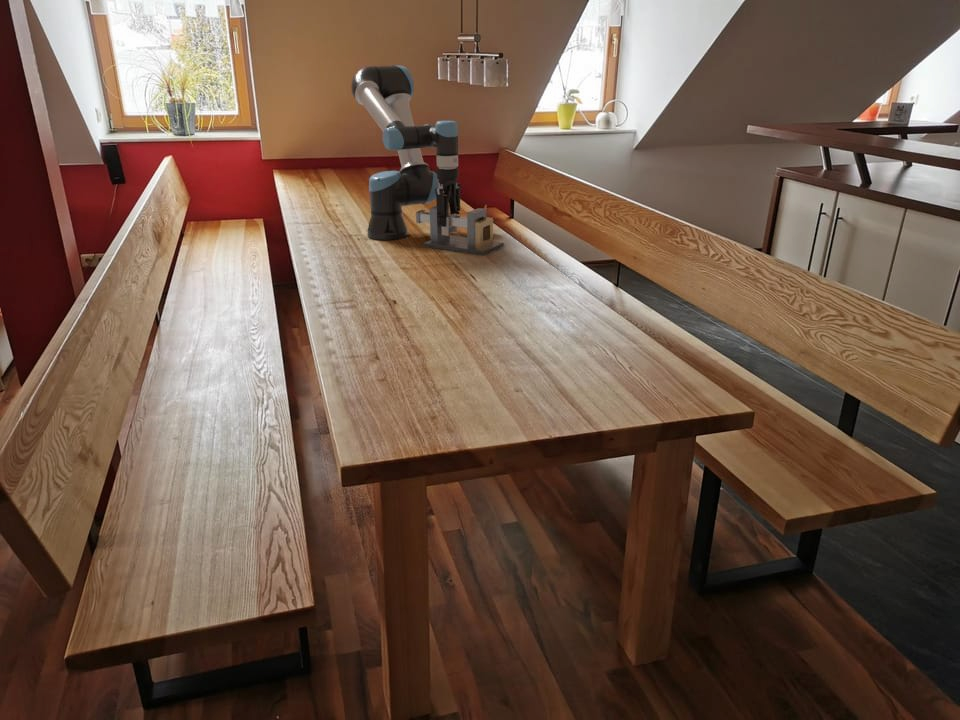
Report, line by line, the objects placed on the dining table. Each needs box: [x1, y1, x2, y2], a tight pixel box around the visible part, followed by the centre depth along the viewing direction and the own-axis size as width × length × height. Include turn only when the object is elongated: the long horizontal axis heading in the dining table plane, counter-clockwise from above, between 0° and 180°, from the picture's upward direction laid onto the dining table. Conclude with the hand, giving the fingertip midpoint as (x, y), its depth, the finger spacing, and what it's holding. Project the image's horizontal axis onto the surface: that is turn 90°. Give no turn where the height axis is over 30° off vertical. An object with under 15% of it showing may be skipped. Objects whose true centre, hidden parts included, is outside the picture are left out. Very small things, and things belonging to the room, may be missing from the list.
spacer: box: [475, 216, 494, 249], centre depth 263 cm, size 2×9×9 cm, turn 150°
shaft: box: [415, 209, 478, 229], centre depth 269 cm, size 24×4×4 cm, turn 60°
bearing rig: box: [423, 204, 505, 256], centre depth 267 cm, size 25×14×14 cm, turn 60°
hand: (449, 233), depth 271 cm, fingers closed on shaft, 4 cm apart
